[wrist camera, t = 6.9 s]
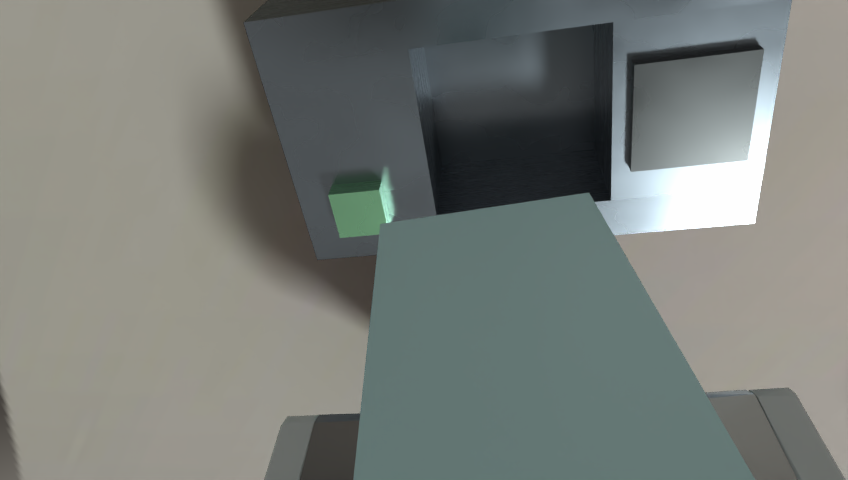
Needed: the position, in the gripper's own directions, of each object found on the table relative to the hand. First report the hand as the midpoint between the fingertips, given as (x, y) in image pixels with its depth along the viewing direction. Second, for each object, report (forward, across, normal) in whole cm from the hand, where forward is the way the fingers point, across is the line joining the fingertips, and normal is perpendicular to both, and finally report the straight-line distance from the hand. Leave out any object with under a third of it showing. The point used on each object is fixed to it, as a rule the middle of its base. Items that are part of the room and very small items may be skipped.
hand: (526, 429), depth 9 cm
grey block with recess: (+16, -1, 0) cm, 16 cm away
